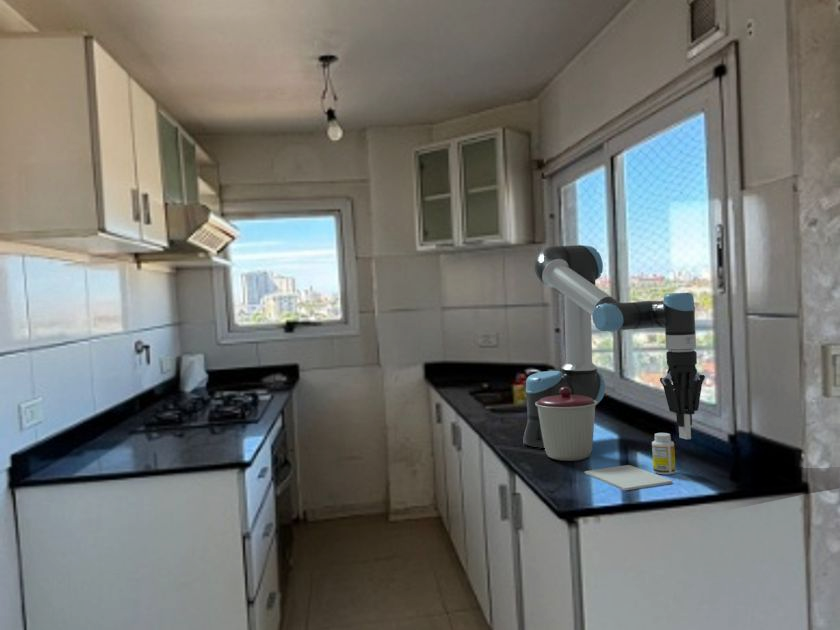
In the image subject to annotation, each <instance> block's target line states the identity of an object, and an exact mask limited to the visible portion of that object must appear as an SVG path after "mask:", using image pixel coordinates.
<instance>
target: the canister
mask: <svg viewBox="0 0 840 630" xmlns="http://www.w3.org/2000/svg"><path fill="white" fill-rule="evenodd" d="M559 393H560V395H554V396H548V397H544V398H541V399H540V400H539V401H537V402H536V403H535V405H536V406H537V407H538V413H539V420H540V426H541V432H542V438H543V443H544V448H545V449H544V451H545V453H546V455H547V457H549V458H550V459H553V460H557V461H562V462H563V461H565V462H573V461H574V462H575V461H580V460H581V461H582V460H585V459H587V458H589V456H591V453H592V451H593V443H594V432H595V430H594V429H595V415H596V406H597V405H598V404H597V401H595V400H593V399H592V398H590V397H587V396H582V395H571V389H570V388H569V387H562V388H560V390H559Z"/></svg>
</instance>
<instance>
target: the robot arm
mask: <svg viewBox="0 0 840 630" xmlns="http://www.w3.org/2000/svg"><path fill="white" fill-rule="evenodd" d="M533 265H534V266H533V267H534V272H535V275H536V277H537V278H538V280H540V282H541V283H543V284H544V285H545V286H547V287H548V288H554V289H556V290H558V291H559V292H560V293H561V294H563V295H564V296H563V297H564V331H565V333H564V334H565V336H564V337H565V338H564V339H565V341H564V342H565V363H564V364H563V365H562V366H561V371H559V370H547V371H539V372H536V373H532V374H530V375H529V376H528V377H527V378H526V379H525V380H526V381H525V393H526V410H527V423H526V427H525V430H524V433H523V434H524V435H523V437H522V438H523V441H522V442H523V444H524V443H525V444H527V445H530V446H533V447H539V448H538V449H541V448H544V443H543V438H542V432H541V426H540V420H539V413H538V407H537V406H536V405H535V403H536V402H537V401H539V400H540V399H541V398H544V397H548V396H554V395H560V393H559V390H560V388H562V387H569V388H570V389H571V395H582V396H587V397H590V398H592V399H593V400H595V401H597V405H598V404H599V403H600V402H601V401H602V399H603V398H604V396H605V391H606V382H605V379H603V375H602V373H600V372H599V371H598V367H597V366H596V365H595V364H594V363H593V339H592V337H593V336H592V334H593V332H592V331H593V330H592V329H593V327H592V323H593V324H594V325H595V326H594V327H595V328H596V329H597V330H598V331H600V332H601V331H602V332H609V333H611V332H612V333H613V332H617V331H627V330H628V331H629V330H640V329H643V330H644V329H659V328H661V329H665V333H664V335H665V349H666V350H667V351H666V352H665V353H666V364H667V367H668V369H667V372H666V375H665V376H664V377H660V378H659V381H660V383H661V385H662V386H663V390H664V394H665V399H666V403H667V406H668V410H669V412H670V413H673V414H675V416H676V426H677V427H678V433H679V434H678V435H679V438H680V439H684V440H691V439H692V435H691V433H692V432H691V431H692V430H691V428H692V427H691V426H693V415H695V413H696V412H697V411H698V410H699V405H700V401H701V393H702V387H703V383H704V381H705V379H706V375H704V374H701V373H699V372H698V369H697V367H696V365H697V363H698V357H697V351H696V348H697V338H696V312H695V311H696V306H695V299H694V295H693V293H692V292H675V293H674V292H673V293H665V294H664V295H663V300H642V301H633V302H630V301H629V302H620V301H618V300H617V299H615V298H613V297H612V296H610V295H609V294H608V293H606V292H605V291H604V290H602V289H601V288H599V287H598V286H597V285H596V281H597V280H598V279H600V277H601V276H602V275H601V274H602V273H603V271H604V270H603V269H604V265H603V259H602V256H601V254H600V252H599V251H598V250H597V249H596V248H595V247H594V246H591V245H582V244H581V245H580V244H578V245H552V246H547V247H546V248H544V249H542V250H541V251H540V252H539V253H538V255H537V256H536V258H535V261H534V264H533Z"/></svg>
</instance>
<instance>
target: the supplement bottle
mask: <svg viewBox="0 0 840 630" xmlns="http://www.w3.org/2000/svg"><path fill="white" fill-rule="evenodd" d="M651 450H652V452H651V453H652V468H653V469H652V470H653V472H654V474H656V475H657V474H658V475H663V476H664V475H666V476H670V475H673V474H675V473H676V468H677V467H676V455H675V454H676V452H675V443H674V441H673V440H672V437H671V434H670V433H668V432H657V433H654V440H653V441H651Z"/></svg>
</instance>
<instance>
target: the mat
mask: <svg viewBox="0 0 840 630" xmlns="http://www.w3.org/2000/svg"><path fill="white" fill-rule="evenodd" d="M584 474H585V475H587V476H590V477H592V478H594V479H597V480H598V481H600V482H604V483H606V484H608V485H610V486H612V487H615V488H617V489H620V490H622V491H623V492H624V491H630V490H631V491H632V490H638V489H644V488H651V487H656V486H663V485H668V484H669V485H670V484H674V481H673V480H671V479H669V478H667V477H663V476H661V475H659V474H658V475H657V473H652V472H650V471H647V470H644V469H642V468H638V467H637V466H636V467H635V466H633V465H630V464H625V465H619V466H612V467H606V468H598V469H592V470H586V471H585V470H584Z"/></svg>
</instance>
